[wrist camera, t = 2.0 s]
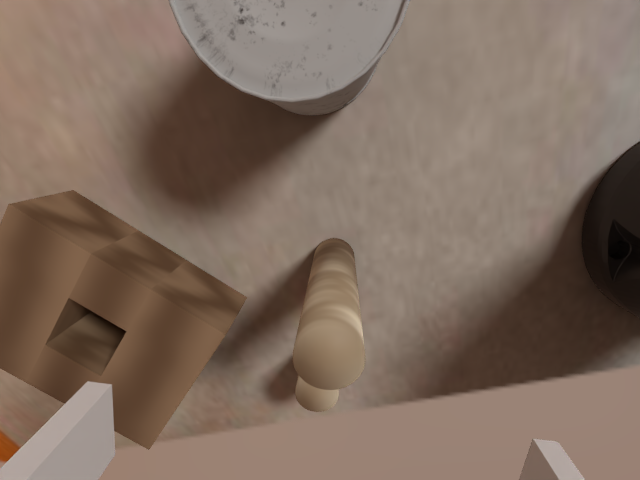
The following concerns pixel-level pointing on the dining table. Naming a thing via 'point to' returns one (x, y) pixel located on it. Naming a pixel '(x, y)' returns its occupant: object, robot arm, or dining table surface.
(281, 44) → the speckled white tub
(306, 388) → the short pin
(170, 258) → the hole block
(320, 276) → the long pin
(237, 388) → the dining table surface
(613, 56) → the dining table surface
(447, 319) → the dining table surface
